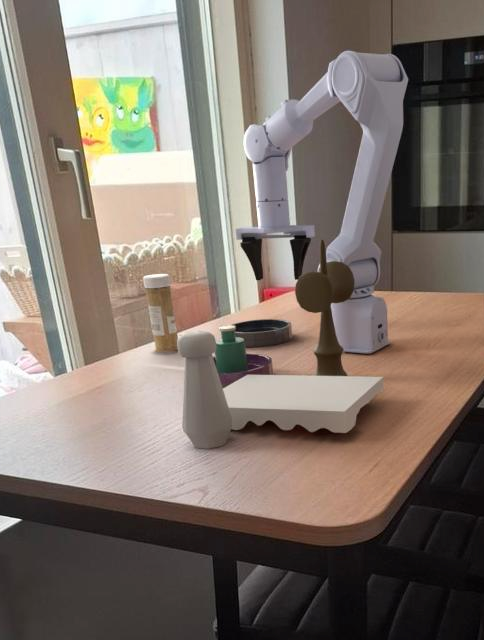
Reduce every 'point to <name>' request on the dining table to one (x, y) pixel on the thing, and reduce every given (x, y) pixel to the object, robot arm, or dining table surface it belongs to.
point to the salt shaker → (203, 392)
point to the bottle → (230, 351)
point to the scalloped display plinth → (300, 400)
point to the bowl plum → (255, 365)
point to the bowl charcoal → (264, 332)
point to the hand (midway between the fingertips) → (278, 279)
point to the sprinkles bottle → (161, 312)
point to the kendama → (326, 308)
